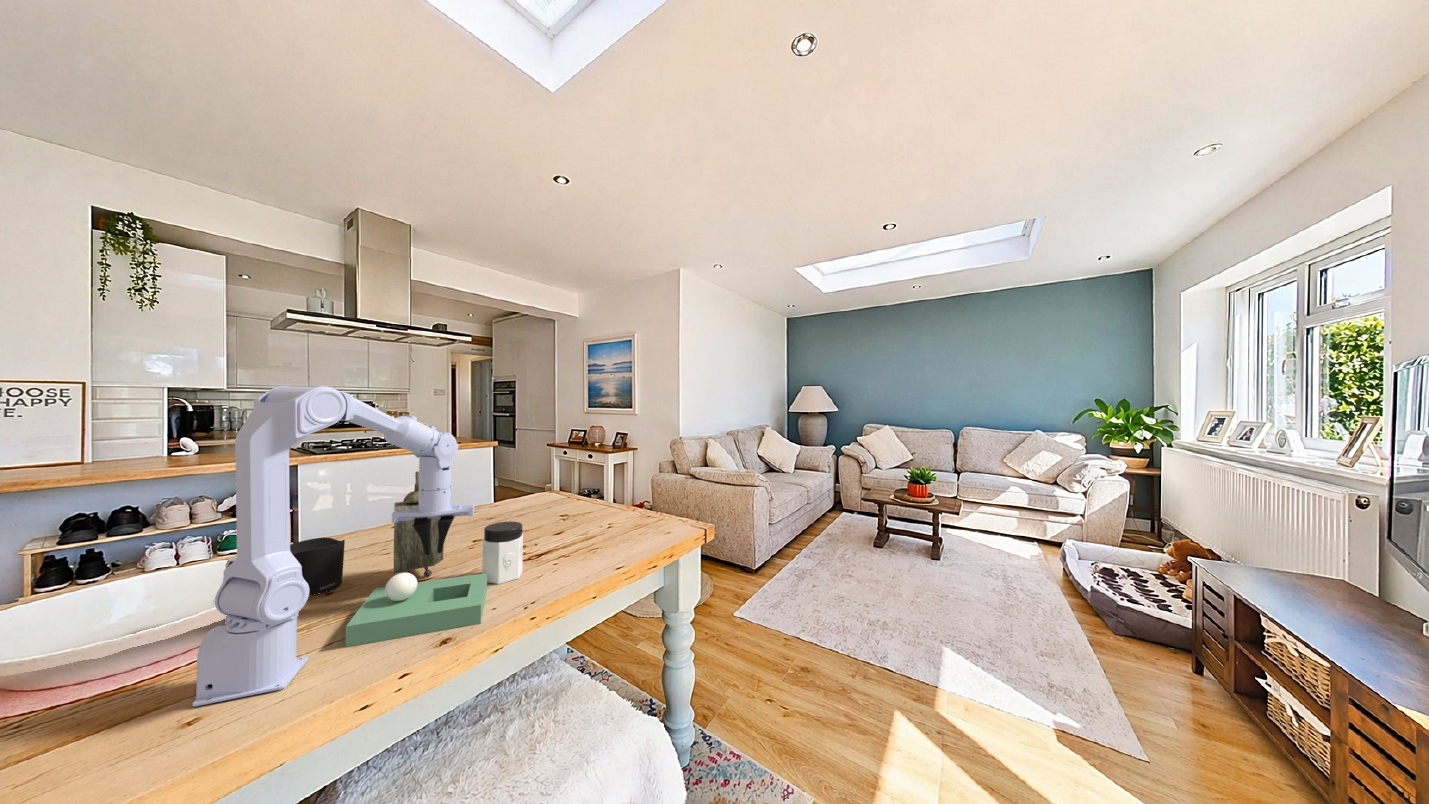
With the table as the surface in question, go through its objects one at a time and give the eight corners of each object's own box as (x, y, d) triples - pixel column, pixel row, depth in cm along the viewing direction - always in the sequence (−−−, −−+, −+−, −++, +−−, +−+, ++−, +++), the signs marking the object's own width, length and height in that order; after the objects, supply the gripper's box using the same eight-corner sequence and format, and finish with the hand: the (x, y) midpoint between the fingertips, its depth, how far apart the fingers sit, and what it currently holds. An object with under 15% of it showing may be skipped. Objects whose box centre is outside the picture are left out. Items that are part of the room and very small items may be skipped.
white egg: (381, 608, 78) (381, 580, 78) (388, 596, 83) (389, 570, 83) (414, 603, 81) (414, 576, 81) (419, 592, 85) (420, 567, 85)
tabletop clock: (393, 573, 103) (394, 468, 103) (438, 564, 108) (439, 465, 108) (393, 595, 91) (395, 478, 91) (443, 585, 97) (445, 474, 97)
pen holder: (279, 603, 87) (280, 553, 87) (292, 586, 95) (292, 541, 95) (340, 592, 92) (340, 546, 92) (347, 577, 100) (348, 534, 100)
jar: (487, 587, 96) (488, 534, 95) (477, 576, 101) (477, 526, 101) (528, 576, 102) (529, 526, 102) (516, 566, 108) (517, 519, 108)
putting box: (345, 647, 72) (346, 626, 72) (375, 605, 87) (375, 588, 87) (480, 623, 80) (480, 604, 80) (486, 588, 95) (487, 573, 95)
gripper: (475, 482, 97) (475, 542, 97) (398, 487, 91) (397, 550, 91) (472, 488, 91) (471, 552, 91) (389, 493, 85) (388, 562, 85)
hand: (434, 552), depth 91 cm, fingers closed
